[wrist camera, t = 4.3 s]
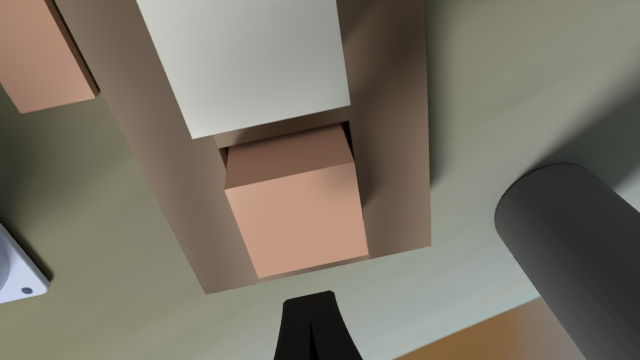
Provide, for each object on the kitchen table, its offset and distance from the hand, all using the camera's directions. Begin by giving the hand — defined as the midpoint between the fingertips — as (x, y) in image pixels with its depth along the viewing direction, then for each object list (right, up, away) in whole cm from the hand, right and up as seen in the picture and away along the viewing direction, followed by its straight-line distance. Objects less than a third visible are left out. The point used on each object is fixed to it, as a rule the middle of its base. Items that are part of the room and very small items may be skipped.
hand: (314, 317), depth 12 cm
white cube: (-2, +10, +2) cm, 10 cm away
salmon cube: (-1, +5, +7) cm, 8 cm away
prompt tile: (-11, +9, +4) cm, 14 cm away
